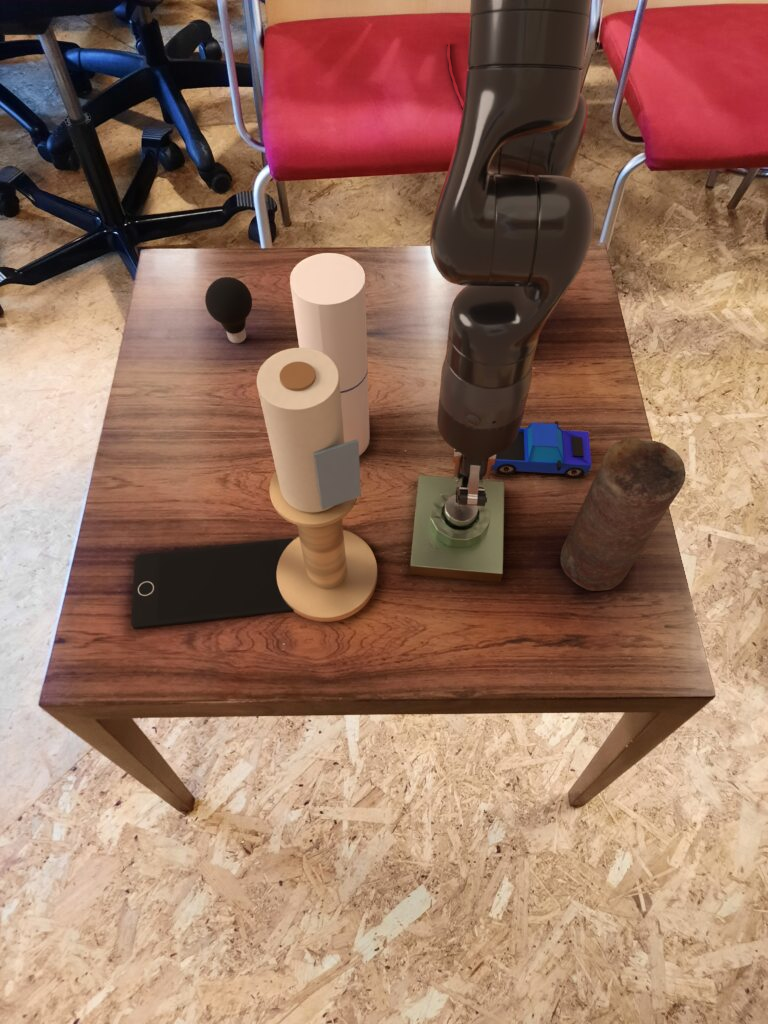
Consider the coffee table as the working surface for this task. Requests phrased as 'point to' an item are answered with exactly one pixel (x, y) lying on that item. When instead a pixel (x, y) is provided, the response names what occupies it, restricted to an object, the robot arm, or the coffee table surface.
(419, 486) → the button box
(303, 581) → the towel holder
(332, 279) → the cylindrical container
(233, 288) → the light bulb
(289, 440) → the towel roll
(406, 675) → the coffee table surface
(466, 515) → the button
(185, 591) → the cell phone
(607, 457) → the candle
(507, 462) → the toy car
